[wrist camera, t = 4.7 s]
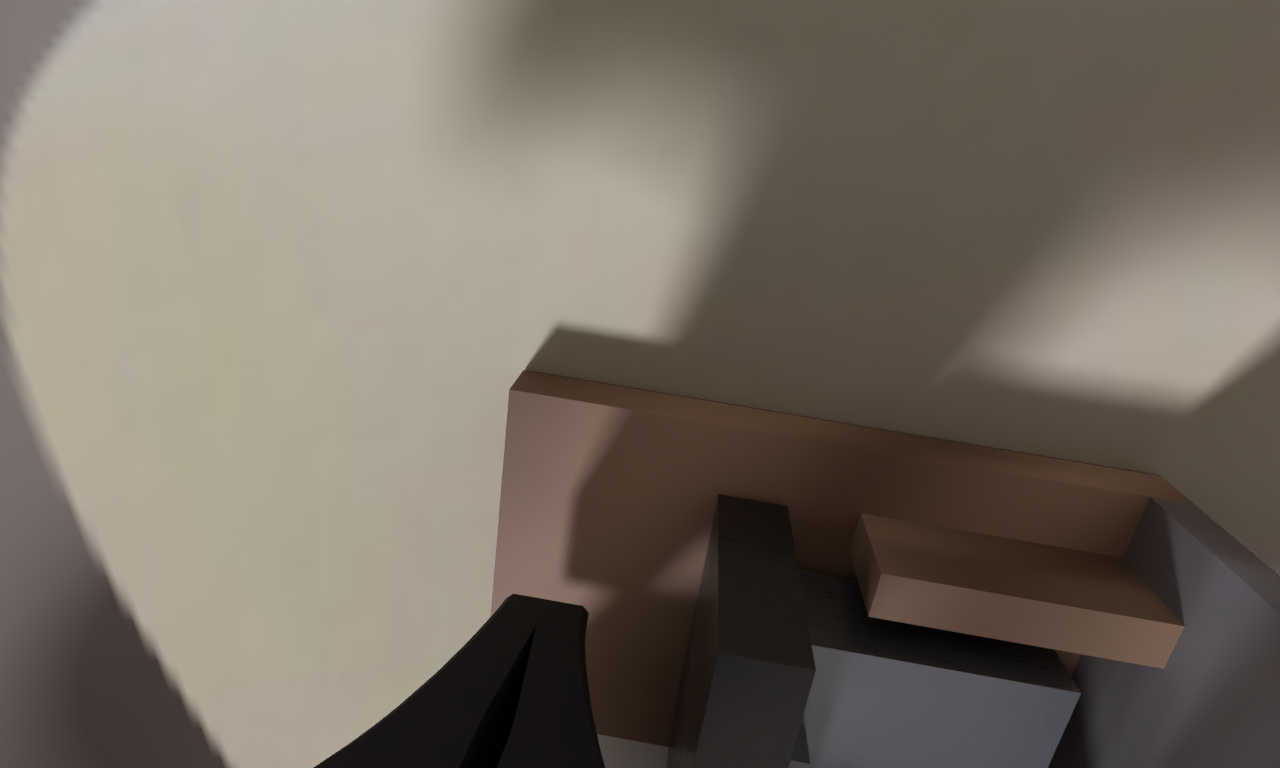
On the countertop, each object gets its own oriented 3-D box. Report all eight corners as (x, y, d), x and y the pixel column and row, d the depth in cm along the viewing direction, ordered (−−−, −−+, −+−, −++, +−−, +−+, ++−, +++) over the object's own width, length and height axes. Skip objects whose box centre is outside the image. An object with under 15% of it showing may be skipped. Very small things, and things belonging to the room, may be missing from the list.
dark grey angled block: (1052, 551, 13) (1191, 737, 9) (956, 793, 15) (1037, 1028, 11) (718, 494, 13) (718, 652, 9) (669, 739, 15) (652, 950, 11)
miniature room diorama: (1160, 476, 13) (1481, 746, 8) (1016, 802, 16) (1175, 1174, 11) (523, 370, 14) (390, 552, 8) (493, 706, 17) (379, 1012, 11)
